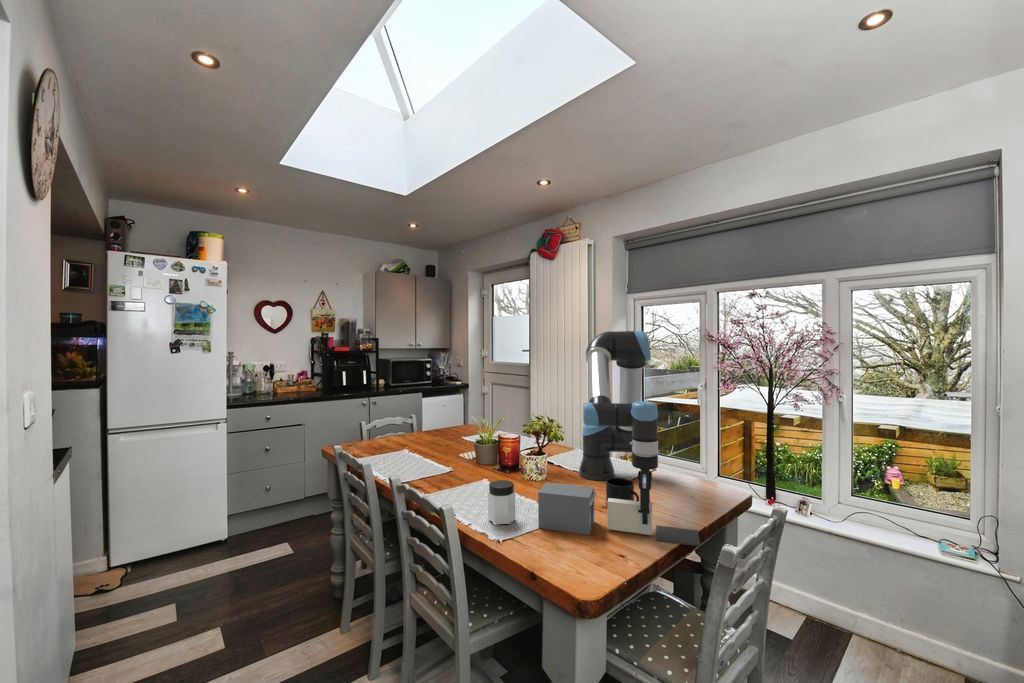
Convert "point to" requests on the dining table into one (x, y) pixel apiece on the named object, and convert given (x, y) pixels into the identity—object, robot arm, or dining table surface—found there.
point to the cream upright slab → (625, 515)
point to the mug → (620, 489)
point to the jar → (501, 502)
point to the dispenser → (566, 508)
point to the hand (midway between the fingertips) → (645, 530)
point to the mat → (677, 535)
